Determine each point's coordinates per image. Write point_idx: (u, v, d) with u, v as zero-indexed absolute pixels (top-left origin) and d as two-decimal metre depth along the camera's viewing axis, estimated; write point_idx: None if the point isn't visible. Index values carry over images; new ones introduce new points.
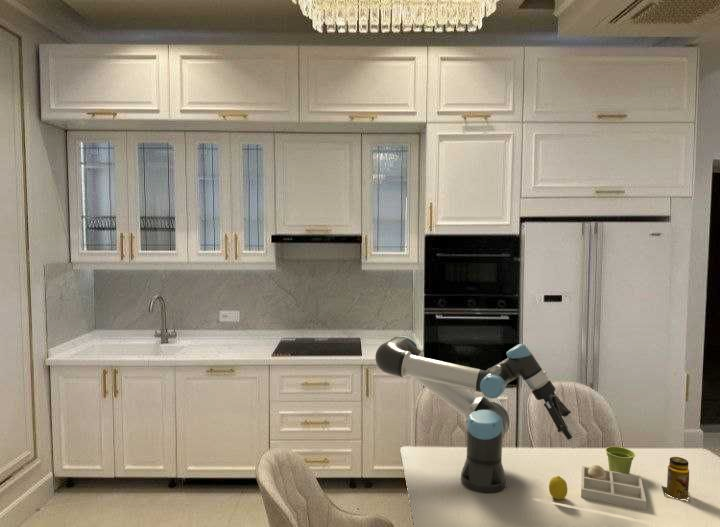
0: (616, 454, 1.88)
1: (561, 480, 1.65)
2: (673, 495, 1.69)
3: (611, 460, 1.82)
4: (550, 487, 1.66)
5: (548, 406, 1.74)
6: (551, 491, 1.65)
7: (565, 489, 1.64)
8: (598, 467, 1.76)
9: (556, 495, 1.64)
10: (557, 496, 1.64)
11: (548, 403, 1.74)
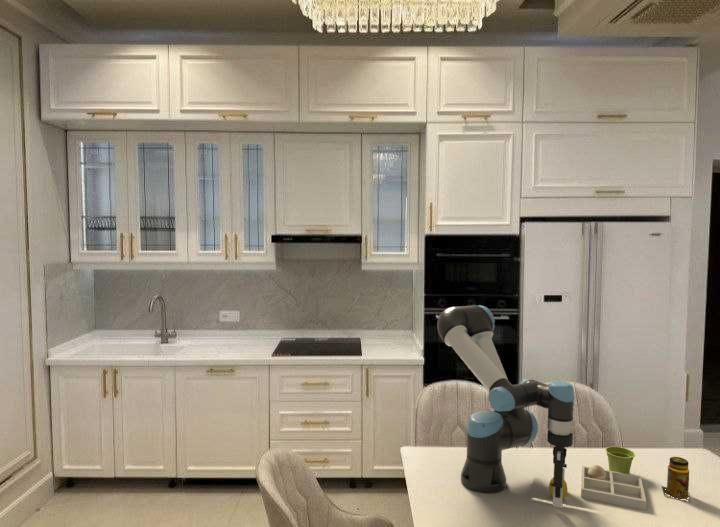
0: (616, 454, 1.88)
1: None
2: (673, 495, 1.69)
3: (611, 460, 1.82)
4: (550, 487, 1.66)
5: (557, 457, 1.59)
6: (551, 491, 1.65)
7: (565, 489, 1.64)
8: (598, 467, 1.76)
9: None
10: None
11: (559, 455, 1.59)
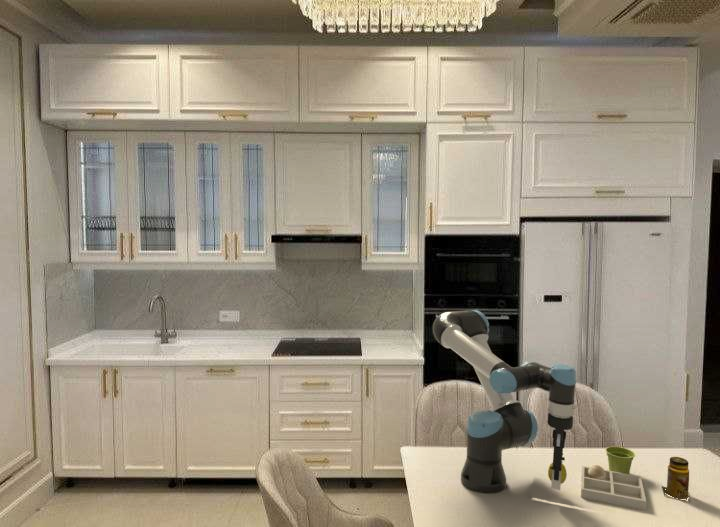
0: (616, 454, 1.88)
1: None
2: (673, 495, 1.69)
3: (611, 460, 1.82)
4: (549, 472, 1.66)
5: (557, 444, 1.60)
6: (550, 476, 1.65)
7: (564, 474, 1.64)
8: (598, 467, 1.76)
9: None
10: None
11: (559, 442, 1.59)
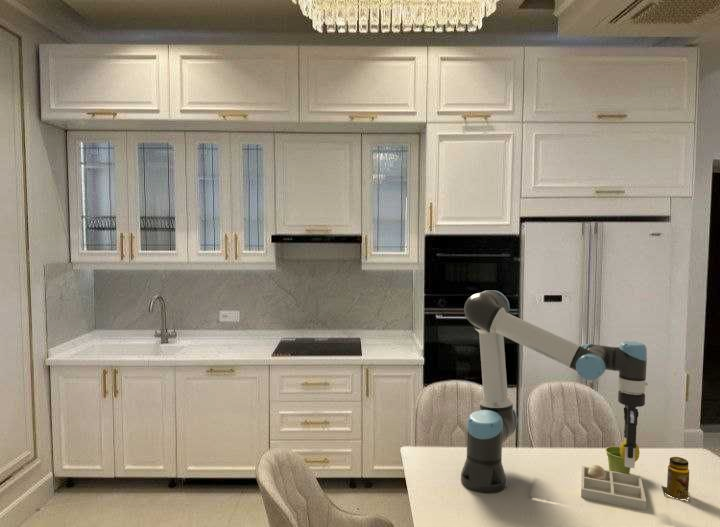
0: (616, 454, 1.88)
1: None
2: (673, 495, 1.69)
3: (611, 460, 1.82)
4: (622, 450, 1.64)
5: (631, 421, 1.58)
6: (623, 454, 1.64)
7: (638, 452, 1.63)
8: (598, 467, 1.76)
9: None
10: None
11: (633, 419, 1.58)
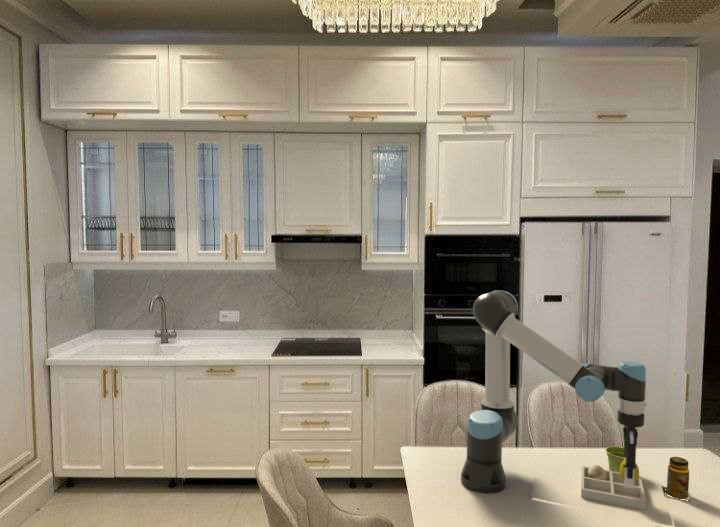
0: (616, 454, 1.88)
1: None
2: (673, 495, 1.69)
3: (611, 460, 1.82)
4: (621, 470, 1.65)
5: (631, 442, 1.59)
6: (623, 474, 1.64)
7: (637, 472, 1.63)
8: (598, 467, 1.76)
9: None
10: None
11: (633, 440, 1.58)
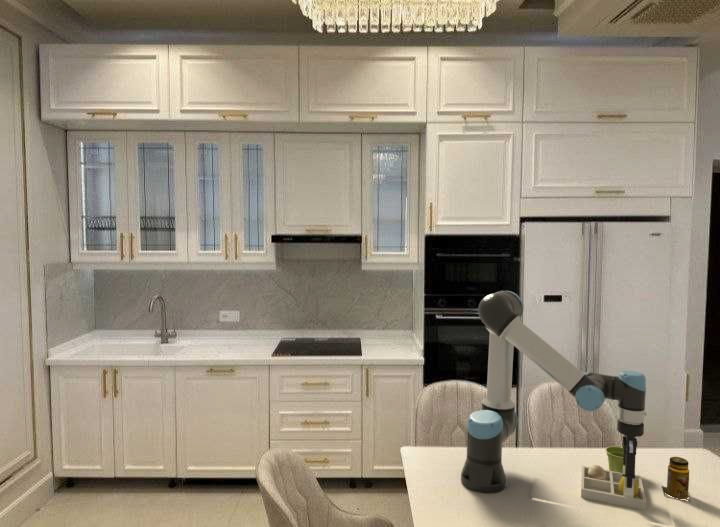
0: (616, 454, 1.88)
1: None
2: (673, 495, 1.69)
3: (611, 460, 1.82)
4: (621, 486, 1.65)
5: (630, 451, 1.59)
6: (622, 490, 1.64)
7: (637, 488, 1.63)
8: (598, 467, 1.76)
9: None
10: None
11: (632, 449, 1.59)
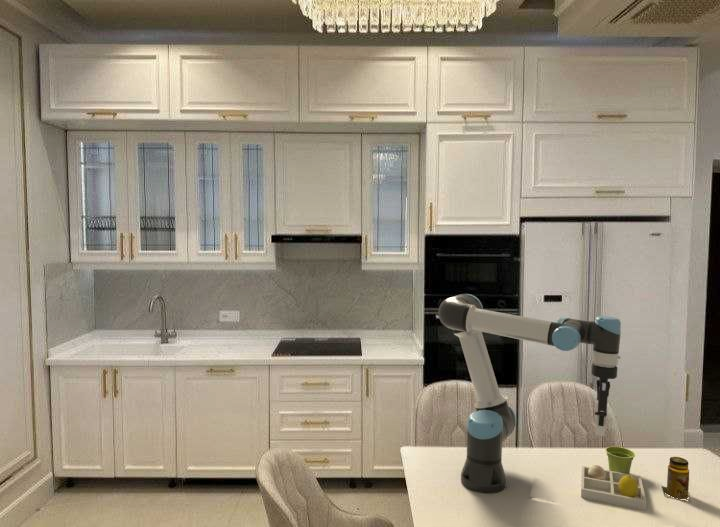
0: (616, 454, 1.88)
1: (632, 479, 1.64)
2: (673, 495, 1.69)
3: (611, 460, 1.82)
4: (620, 486, 1.65)
5: (603, 388, 1.63)
6: (622, 490, 1.64)
7: (636, 488, 1.63)
8: (598, 467, 1.76)
9: (627, 494, 1.63)
10: (628, 495, 1.63)
11: (605, 385, 1.63)
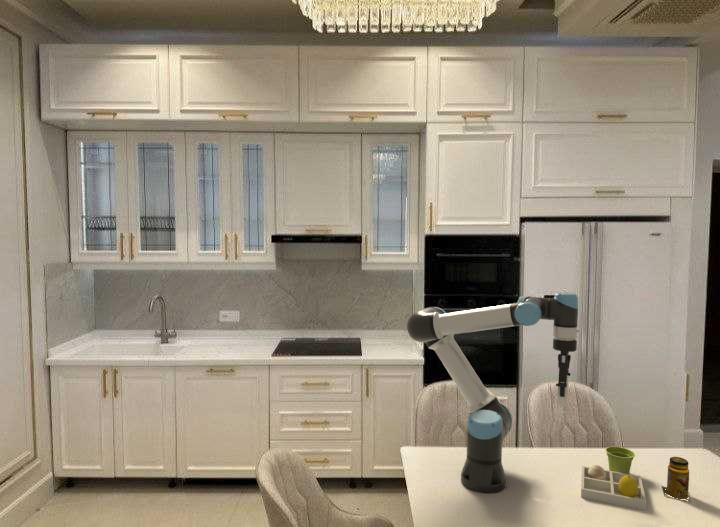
0: (616, 454, 1.88)
1: (632, 479, 1.64)
2: (673, 495, 1.69)
3: (611, 460, 1.82)
4: (620, 486, 1.65)
5: (562, 360, 1.70)
6: (622, 490, 1.64)
7: (636, 488, 1.63)
8: (598, 467, 1.76)
9: (627, 494, 1.63)
10: (628, 496, 1.63)
11: (564, 357, 1.70)
